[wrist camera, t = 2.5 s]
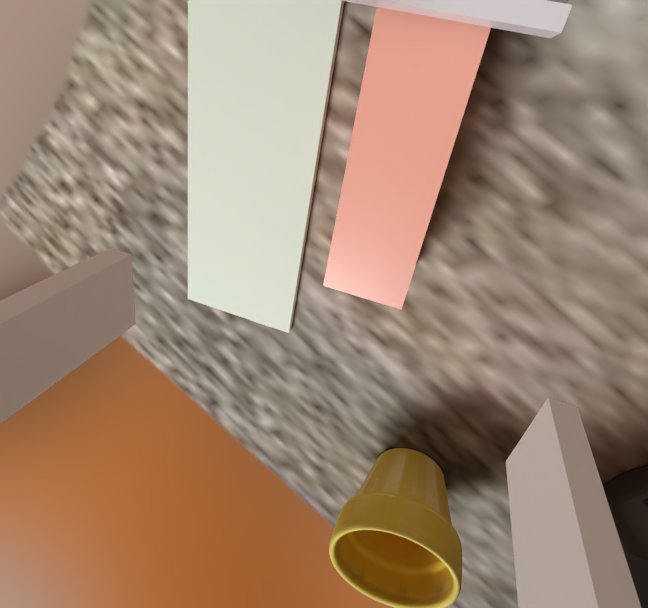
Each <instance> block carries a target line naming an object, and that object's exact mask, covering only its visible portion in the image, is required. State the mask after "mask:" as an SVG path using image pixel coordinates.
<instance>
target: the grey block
mask: <svg viewBox="0 0 648 608" xmlns="http://www.w3.org/2000/svg"><path fill="white" fill-rule="evenodd" d="M342 1H347V2H353V3H358V4H364V5H369V6H375V7H380V8H386V9H391V10H397V11H402V12H408V13H413V14H419V15H424V16H430V17H435V18H441V19H446V20H452V21H457V22H463V23H468V24H474V25H479V26H485V27H490V28H496V29H501V30H507V31H512V32H518V33H523V34H529V35H534V36H540V37H545V38H552V37H554V36H556V35H558V34H560V33H561V32H562V30H563V27H564V25H565V22H566V20H567V17H568V15H569V12H570V10H571V7H572V5H571V4H566V3H567V1H568V0H342Z"/></svg>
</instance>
